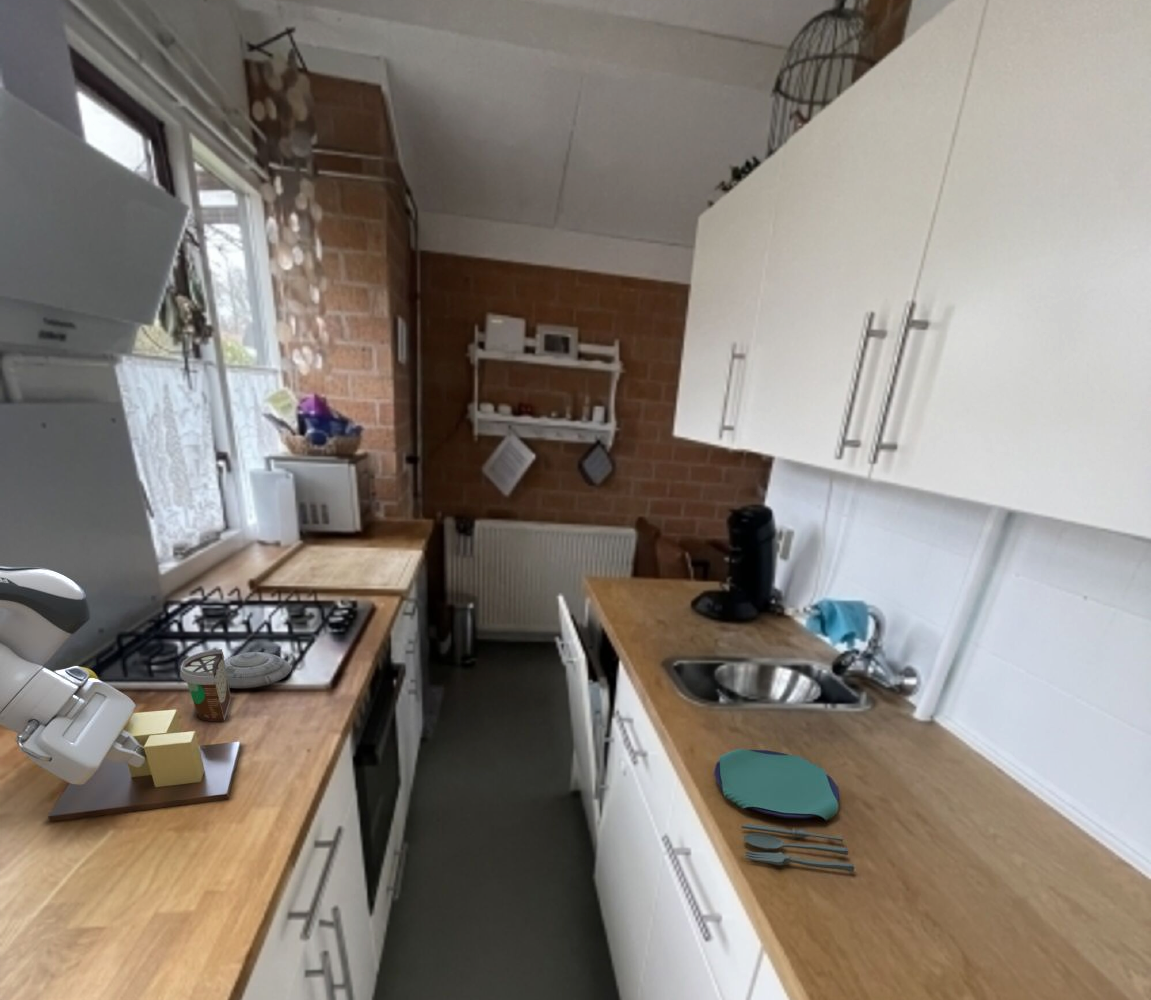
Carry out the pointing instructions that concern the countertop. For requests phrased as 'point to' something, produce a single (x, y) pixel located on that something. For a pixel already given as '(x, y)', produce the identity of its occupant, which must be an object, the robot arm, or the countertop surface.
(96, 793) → the butter board
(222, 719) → the food container
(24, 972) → the countertop surface
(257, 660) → the flying saucer
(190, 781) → the butter slice
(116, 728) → the robot arm
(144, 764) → the butter block
